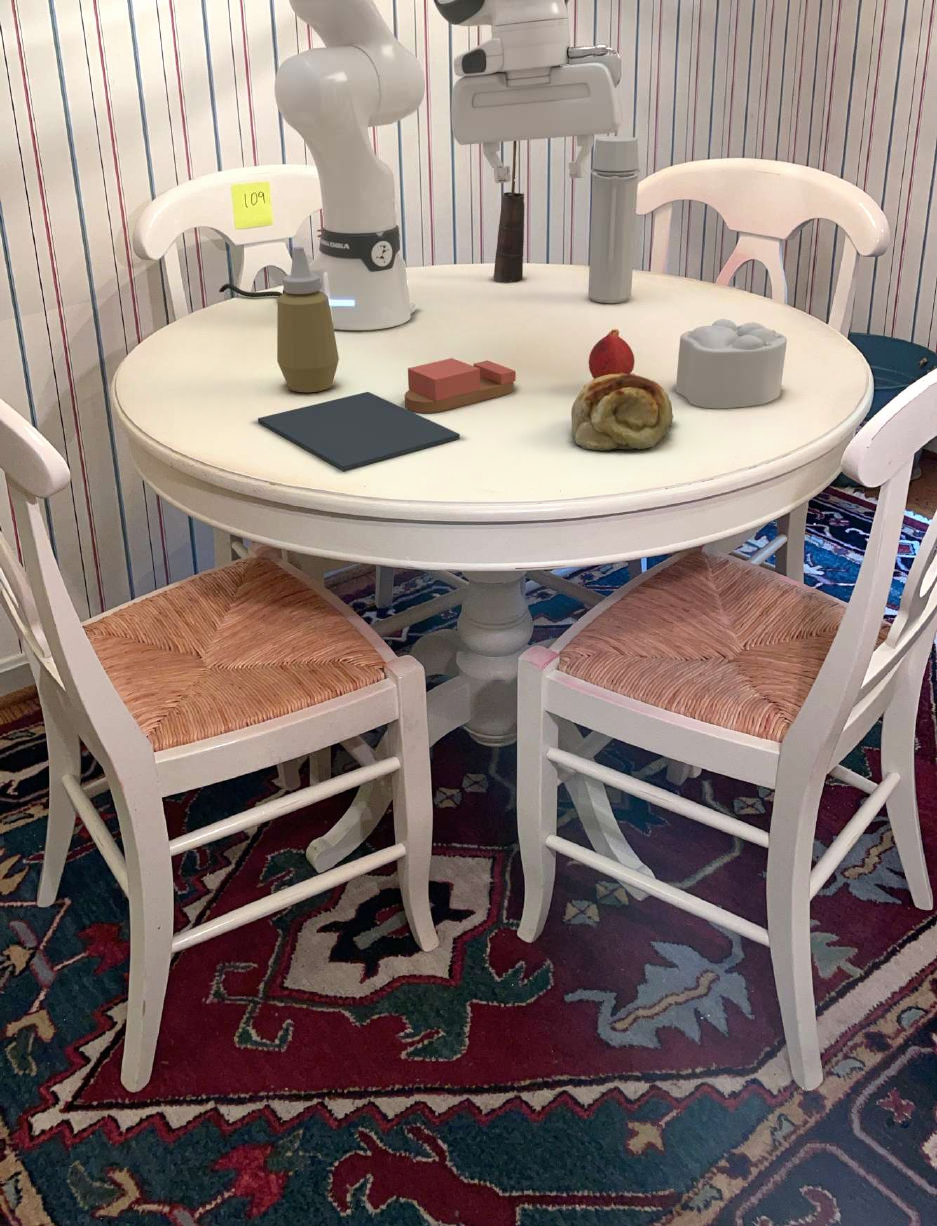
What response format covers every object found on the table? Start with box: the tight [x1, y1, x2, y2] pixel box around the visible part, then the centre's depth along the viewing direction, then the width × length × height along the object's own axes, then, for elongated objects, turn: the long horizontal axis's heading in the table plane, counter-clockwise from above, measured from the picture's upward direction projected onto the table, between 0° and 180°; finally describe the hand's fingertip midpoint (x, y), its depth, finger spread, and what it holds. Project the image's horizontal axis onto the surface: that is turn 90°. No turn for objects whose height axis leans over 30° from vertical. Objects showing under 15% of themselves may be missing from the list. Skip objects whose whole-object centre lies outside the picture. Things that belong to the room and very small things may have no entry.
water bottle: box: [587, 135, 642, 305], centre depth 180 cm, size 9×8×25 cm
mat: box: [257, 391, 461, 472], centre depth 133 cm, size 20×16×1 cm
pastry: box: [570, 372, 674, 451], centre depth 129 cm, size 14×12×8 cm
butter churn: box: [493, 141, 525, 283], centre depth 192 cm, size 9×10×28 cm
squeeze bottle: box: [276, 246, 340, 393], centre depth 144 cm, size 8×8×18 cm
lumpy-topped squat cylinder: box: [675, 318, 788, 409], centre depth 141 cm, size 10×13×9 cm
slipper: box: [404, 357, 517, 414], centre depth 143 cm, size 16×6×4 cm, turn 127°
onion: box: [588, 328, 636, 380], centre depth 144 cm, size 6×6×8 cm
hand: (539, 180), depth 133 cm, fingers open, 8 cm apart
